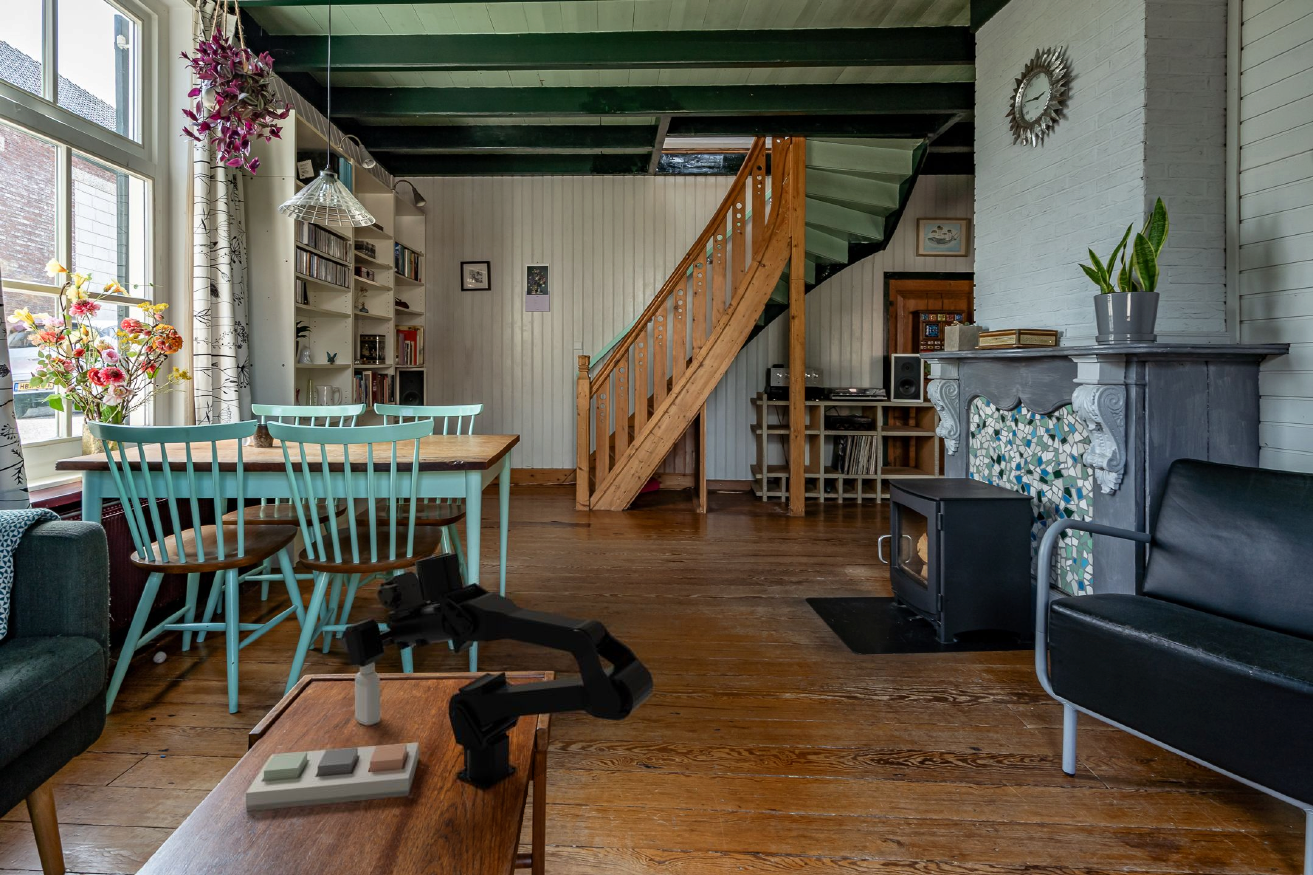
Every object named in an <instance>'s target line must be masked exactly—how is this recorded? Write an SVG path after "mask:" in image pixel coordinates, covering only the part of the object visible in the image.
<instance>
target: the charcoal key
mask: <svg viewBox="0 0 1313 875" xmlns="http://www.w3.org/2000/svg"><path fill="white" fill-rule="evenodd" d="M333 749H334V750H332V749H325V750H326V751H325V753H324V755H323V757H322V759H321V761H320V763H319V764H318V777H321V776H332V775H343V774H352V773H353V771H354V768H355V766H356V764H357V761H358V748H356V747H347V748H346V749H344V748H333Z"/></svg>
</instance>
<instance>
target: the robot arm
mask: <svg viewBox="0 0 1313 875" xmlns="http://www.w3.org/2000/svg"><path fill="white" fill-rule="evenodd" d="M414 564H415V569H416V574H415V572H414V571H407V572H403V573H400V574H397V575H394V576H393V577H391V578H390V579H389V580H387V581H383V582H381V583H380V588H379V589H377V592H376V596H377V597H378V599H379V602H380V604H381V605H382V607H384V608H387V607H390V609H391V610H392V611H391V612H388V613H387V617H388V621H386V622H385V623H386V628H387V630H383V631H381V630H380V627H379V626H380V625H379V624H378V622H376V620H374V618H371V619H370V618H369V619H366V620H361V621H359V622H357V623H354V624H351V625H349V626H346V628H345V630H344V632H343V634H344V637H342V638H341V639H340V640H339V641H340V642H339V643H340V645H341V647H342V648H343V649H344V650H346V651H347V652H348V656H349V663H350V665H351V667H353V668H360V667H364V666H366V665H369V664H371V663H373V662H377V661H380V660H382V658H383V656H384V654H385V649H384V648H387V647H390V646H392V645H394V644H396V648H397V651H403V650H405V649H407V648H410V647H412V646H416V648H417V649H420V648H423V647H425V646H428V645H430V644H433V643H441V642H448V641H451V643H452V647H453V653H454V654H456V655H458V654H460V653H462V652H464V651H466V650H468V649H471V648H472V647H473V646H474V643H476V642H478V643H486V642H493V641H498V640H499V641H500V640H510V641H515V642H518V643H519V642H520V643H524V644H529V645H532V646H533V645H534V646H538V647H543V648H547V649H552V650H557V651H562V652H565V653H570V654H571V655H572V657H573V658H574V659H575V660H576V662H577V666H578V669H579V673H580V676H578V677H571V678H569V677H568V678H561V679H559V678H558V679H552V680H544V681H543V680H541V681H533V682H524V683H516V684H515V683H514V684H513V683H510V682H509V681H508V680H507V675H506V671H501V672H500V673H496V674H494V673H489V672H486V673H484V674H483V675H481V676H479V677H478V678H475V679H473V680H472V681H469V682H468V683H467V684H465V685H463V686H461V687H459V688H458V689H457V690H458V692H456V693H455V694H453V695H451V696H450V700H449V703H448V717H449V718H448V719H449V722H450V726H451V728H452V733H453V736H454V740H455V743H456V745H460V746H462V749H463V767H464V768H463V769H461V770H460V771H458V772H457V773H456V777H457V778H458V779H460V780H462V781H464V782H467V783H469V784H470V785H472V786H475V787H476V788H479V789H481V790H483V791H488V790H490V789H492V788H493V787H494V786H496V785H498V784H499V783H501V782H502V781H504V780H505V779H507V778H509V777H510V776H512V775H513V774H515V773H517V771H518V769H517V766H514V765H512V764H510V735H509V734H507V732H509V731H510V730H511V729H513V728H515V727H517V726H518V722H519V720H520V717H528V716H536V715H537V716H538V715H539V716H540V715H550V714H552V715H553V714H560V713H562V714H563V713H573V712H575V713H576V712H585V713H587V714H589V715H590V716H591V717H594V718H595V719H599V720H606V721H613V722H614V721H615V722H619V721H622V720H625V719H626V718H627V717H629V716H630V715H631V714H632V713H633V712H634V711H635V710H636V709H637V708H639V707H640V706H641V705H643V703H644V702H646V701H647V700H648V699H649V698H650V697H651V695H652V693H653V690H654V681H653V677H652V674H651V672H650V670H649V669H648V668H647V667H646V666H645V665H644V664H643V663H642V662H641V661H640V660H639V659H638V657H637V656H636V654H635V653H634V652H633V651H632V650H631V648H630V647H629V646H627V645H626V644H624V643H623V642H622V641H620V640H619V639H617V638H615V637H614V636H613V635H611V633H610V632H609V630H608V628H606V626H605V625H604V624H603V623H602V622H601V621H599V620H595V619H590V620H585V619H581V618H576V617H570V616H565V615H559V614H556V613H555V614H554V613H550V612H545V611H544V612H543V611H538V610H534V609H528V608H523V607H520V606H518V605H517V604H516V603H515V602H514V601H513V600H512V599H511V598H509V597H505V596H503V595H500V594H498V593H495V592H490V591H488V590H486V589H485V588H484V587H482V586H480V585H479V584H477V582H474V583H473V582H472V583H470V584H468V585H464V583H463V579H462V575H461V570H460V561H459V555H458V553H456V552H455V553H450V552H445V553H441V554H437V555H431V556H429V557H424V558H421V559H417V560H415V561H414ZM600 656H601V657H602V658H603V659H605V661H607V662H609V663H610V664H611V666H610V667H608V668H605V669H603V666H602V663H601V660H600Z"/></svg>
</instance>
